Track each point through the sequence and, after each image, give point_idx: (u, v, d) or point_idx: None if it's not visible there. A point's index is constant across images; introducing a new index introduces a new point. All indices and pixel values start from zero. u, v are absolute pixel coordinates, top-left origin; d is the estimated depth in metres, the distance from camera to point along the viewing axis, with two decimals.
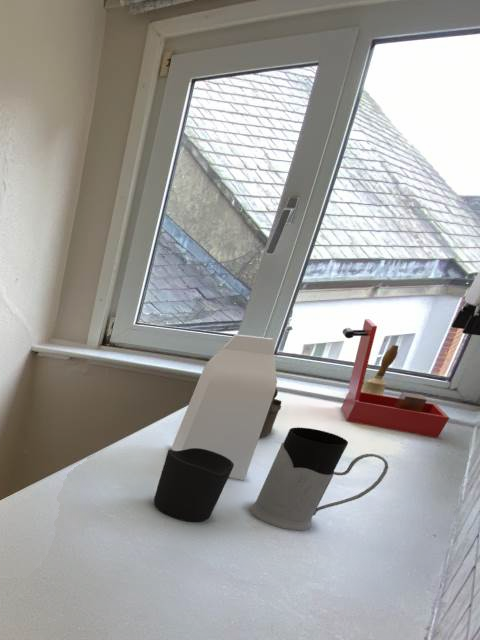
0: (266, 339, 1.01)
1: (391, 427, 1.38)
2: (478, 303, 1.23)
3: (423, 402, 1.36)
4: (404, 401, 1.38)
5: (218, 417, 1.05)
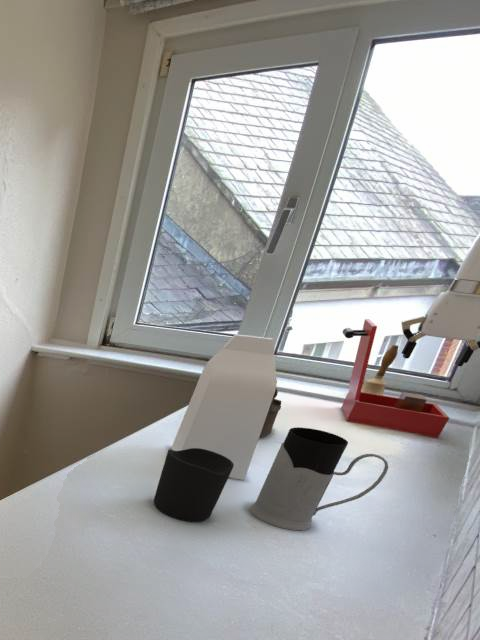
0: (266, 339, 1.01)
1: (391, 427, 1.38)
2: (475, 338, 1.28)
3: (423, 402, 1.36)
4: (404, 401, 1.38)
5: (218, 417, 1.05)
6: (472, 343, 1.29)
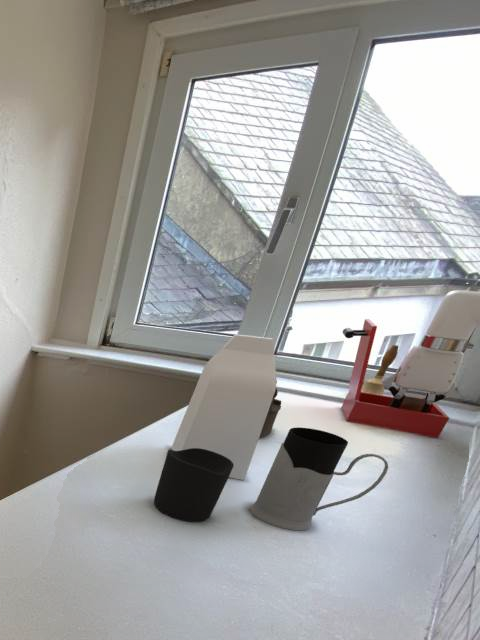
0: (266, 339, 1.01)
1: (391, 427, 1.38)
2: None
3: (423, 402, 1.36)
4: (404, 401, 1.38)
5: (218, 417, 1.05)
6: (427, 398, 1.36)
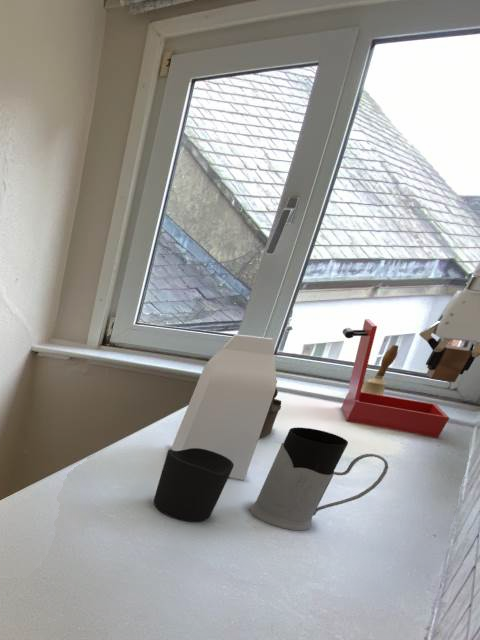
0: (266, 339, 1.01)
1: (391, 427, 1.38)
2: None
3: (468, 354, 1.20)
4: (446, 354, 1.22)
5: (218, 417, 1.05)
6: (473, 349, 1.20)
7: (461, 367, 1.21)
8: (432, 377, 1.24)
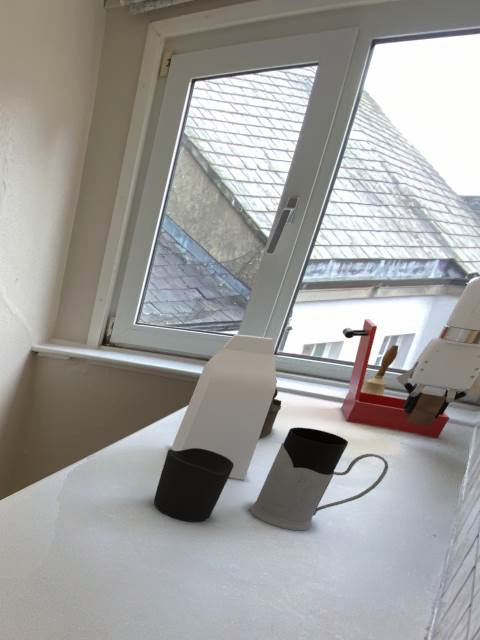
0: (266, 339, 1.01)
1: (391, 427, 1.38)
2: None
3: (442, 400, 1.25)
4: (421, 399, 1.26)
5: (218, 417, 1.05)
6: (447, 395, 1.25)
7: (436, 412, 1.26)
8: (408, 420, 1.29)
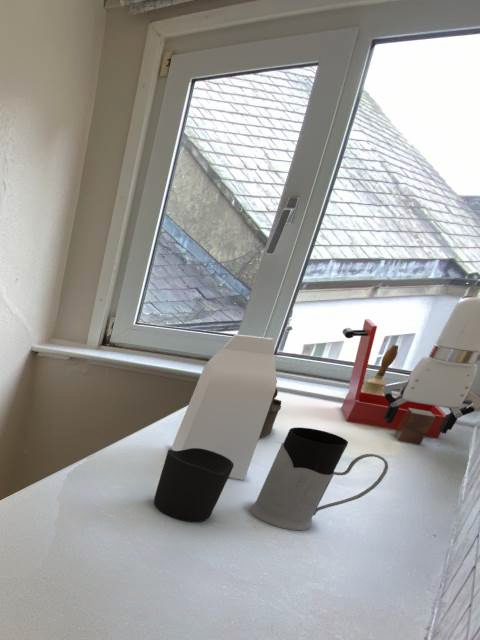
0: (266, 339, 1.01)
1: (391, 427, 1.38)
2: (458, 406, 1.24)
3: (431, 419, 1.27)
4: (411, 418, 1.28)
5: (218, 417, 1.05)
6: (455, 410, 1.25)
7: (425, 431, 1.28)
8: (399, 439, 1.31)
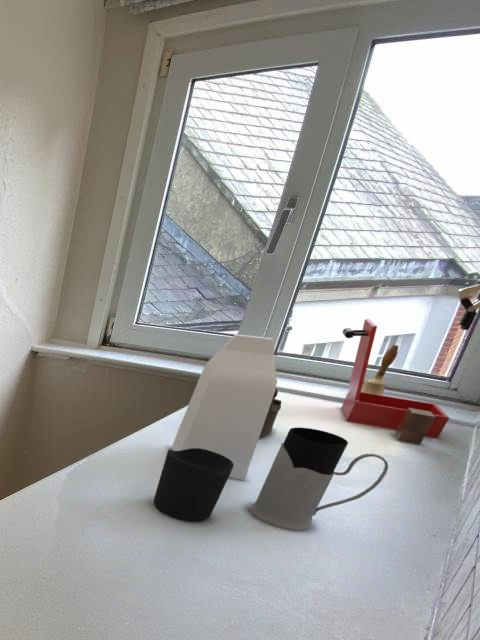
0: (266, 339, 1.01)
1: (391, 427, 1.38)
2: None
3: (431, 419, 1.27)
4: (411, 418, 1.28)
5: (218, 417, 1.05)
6: None
7: (425, 431, 1.28)
8: (399, 439, 1.31)
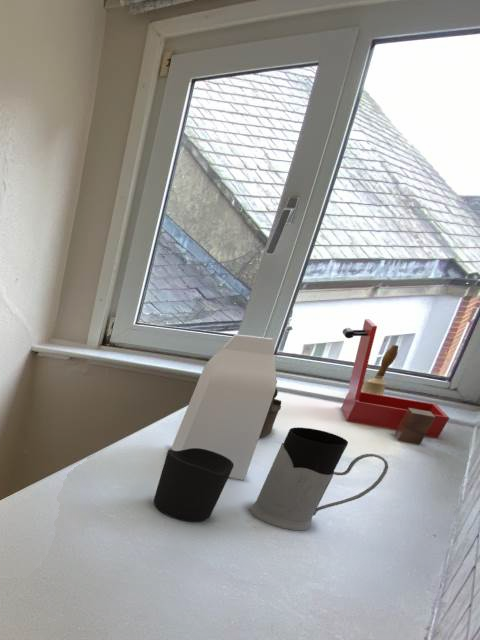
0: (266, 339, 1.01)
1: (391, 427, 1.38)
2: None
3: (431, 419, 1.27)
4: (411, 418, 1.28)
5: (218, 417, 1.05)
6: None
7: (425, 431, 1.28)
8: (399, 439, 1.31)
